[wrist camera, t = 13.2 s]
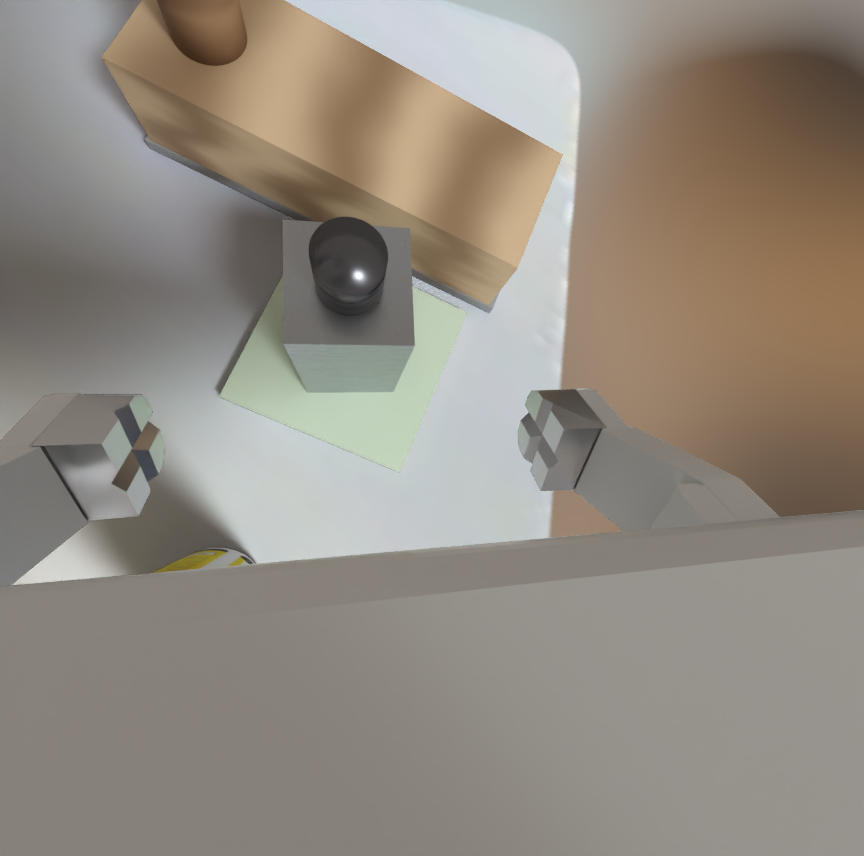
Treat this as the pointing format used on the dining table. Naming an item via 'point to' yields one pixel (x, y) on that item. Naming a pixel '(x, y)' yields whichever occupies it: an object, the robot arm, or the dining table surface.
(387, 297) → the lever cap
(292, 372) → the felt mat
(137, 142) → the dining table surface
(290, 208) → the plane body
